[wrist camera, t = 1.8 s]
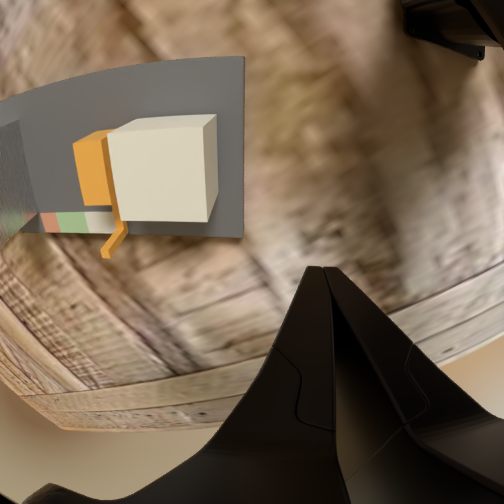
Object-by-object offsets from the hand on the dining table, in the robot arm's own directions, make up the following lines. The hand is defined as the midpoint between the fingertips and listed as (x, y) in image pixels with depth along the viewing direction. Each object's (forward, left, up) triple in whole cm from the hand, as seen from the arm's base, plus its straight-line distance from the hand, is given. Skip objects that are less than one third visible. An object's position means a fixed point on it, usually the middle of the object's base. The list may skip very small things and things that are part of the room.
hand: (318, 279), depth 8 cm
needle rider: (+12, +2, -11) cm, 16 cm away
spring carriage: (+7, 0, -12) cm, 13 cm away
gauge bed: (+13, 0, -13) cm, 18 cm away
